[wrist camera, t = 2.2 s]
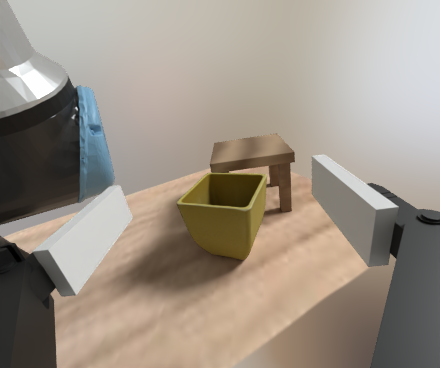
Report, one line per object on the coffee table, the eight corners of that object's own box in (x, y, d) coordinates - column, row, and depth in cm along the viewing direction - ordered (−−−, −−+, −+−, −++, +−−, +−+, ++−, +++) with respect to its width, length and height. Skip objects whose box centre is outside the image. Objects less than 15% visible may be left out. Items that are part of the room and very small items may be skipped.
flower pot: (272, 228, 32) (267, 172, 28) (257, 276, 25) (249, 209, 21) (217, 222, 35) (207, 172, 32) (191, 262, 28) (174, 203, 24)
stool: (220, 221, 36) (209, 164, 31) (222, 188, 46) (214, 143, 42) (295, 212, 34) (294, 152, 30) (279, 181, 45) (276, 133, 41)
